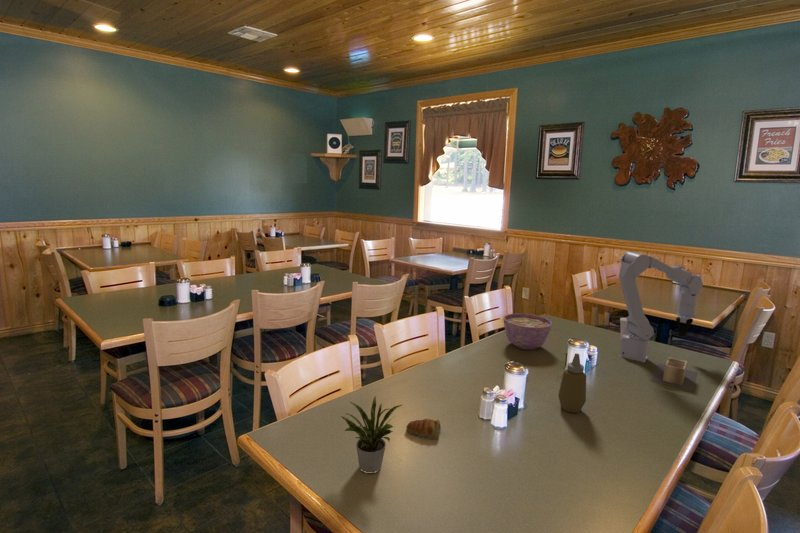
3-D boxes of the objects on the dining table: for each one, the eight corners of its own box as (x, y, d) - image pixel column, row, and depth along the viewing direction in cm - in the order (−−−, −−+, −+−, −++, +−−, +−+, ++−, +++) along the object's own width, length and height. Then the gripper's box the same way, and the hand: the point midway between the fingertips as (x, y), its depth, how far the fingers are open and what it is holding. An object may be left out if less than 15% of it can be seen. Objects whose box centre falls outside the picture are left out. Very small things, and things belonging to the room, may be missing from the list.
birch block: (666, 371, 172) (662, 380, 164) (668, 356, 171) (665, 364, 163) (684, 376, 168) (681, 385, 160) (687, 360, 167) (684, 369, 159)
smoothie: (635, 342, 205) (639, 312, 202) (621, 341, 205) (625, 312, 202) (628, 337, 211) (632, 308, 209) (614, 337, 211) (618, 308, 209)
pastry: (404, 437, 122) (405, 424, 122) (407, 424, 129) (408, 412, 128) (439, 441, 121) (440, 428, 120) (441, 428, 128) (441, 415, 127)
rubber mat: (650, 381, 164) (650, 380, 164) (658, 364, 180) (658, 363, 180) (692, 392, 156) (692, 391, 156) (697, 373, 173) (697, 372, 173)
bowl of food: (491, 344, 195) (494, 318, 193) (518, 335, 209) (520, 310, 207) (533, 358, 181) (535, 331, 179) (558, 347, 194) (561, 321, 192)
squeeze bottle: (585, 406, 143) (592, 352, 140) (583, 417, 136) (590, 361, 133) (558, 400, 147) (564, 347, 143) (555, 411, 140) (561, 355, 136)
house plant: (384, 442, 119) (386, 384, 116) (414, 471, 108) (417, 407, 105) (334, 458, 112) (335, 396, 109) (360, 491, 100) (362, 423, 97)
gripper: (697, 309, 175) (691, 342, 177) (700, 302, 186) (694, 333, 189) (676, 305, 179) (671, 338, 182) (680, 298, 191) (675, 329, 193)
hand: (681, 335), depth 186 cm, fingers closed
